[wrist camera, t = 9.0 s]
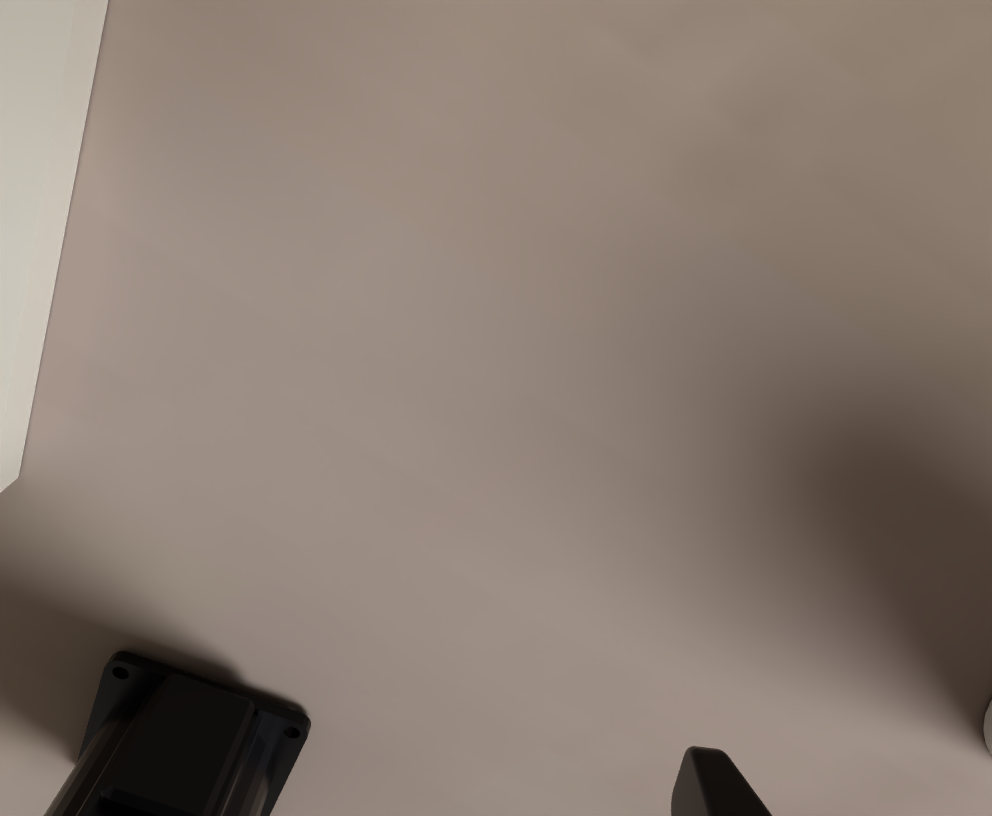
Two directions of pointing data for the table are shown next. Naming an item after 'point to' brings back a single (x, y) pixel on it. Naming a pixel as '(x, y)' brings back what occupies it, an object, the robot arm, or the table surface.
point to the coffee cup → (988, 727)
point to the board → (36, 183)
